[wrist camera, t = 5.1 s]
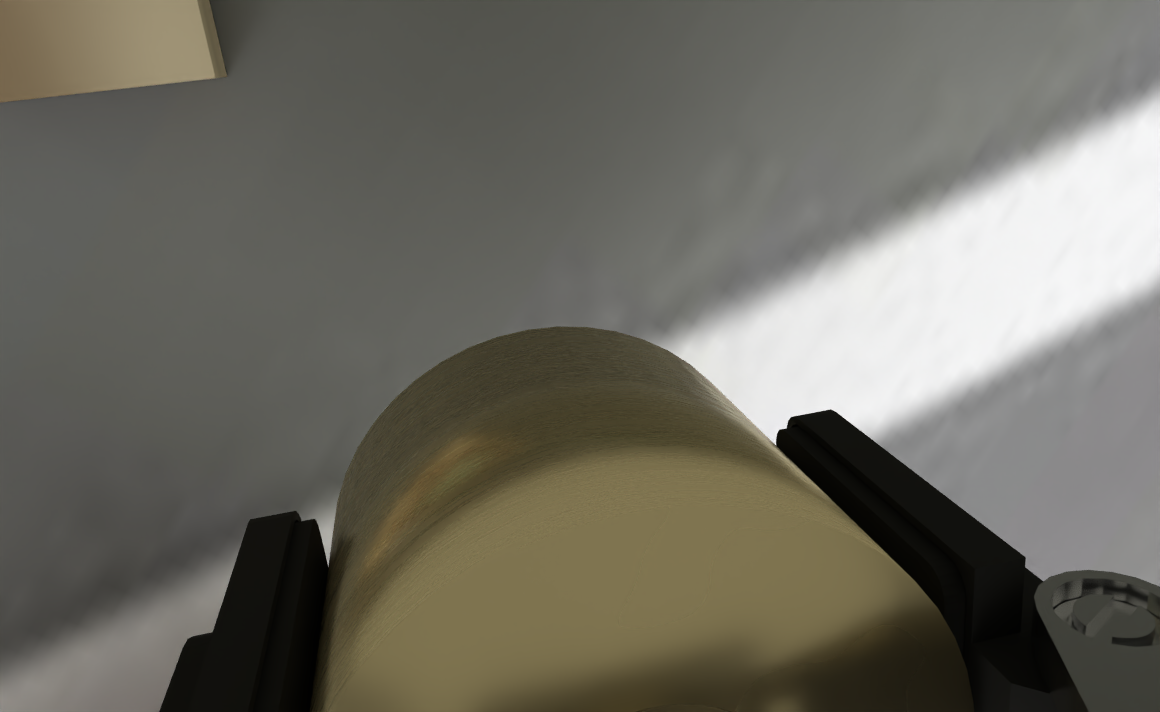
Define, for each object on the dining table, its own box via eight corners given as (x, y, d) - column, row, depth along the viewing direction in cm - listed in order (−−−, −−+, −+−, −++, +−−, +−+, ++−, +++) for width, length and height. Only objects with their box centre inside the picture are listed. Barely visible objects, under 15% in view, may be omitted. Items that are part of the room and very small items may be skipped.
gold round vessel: (748, 291, 12) (1058, 482, 6) (768, 661, 14) (1017, 1051, 8) (286, 371, 11) (177, 675, 5) (380, 755, 13) (371, 1262, 7)
